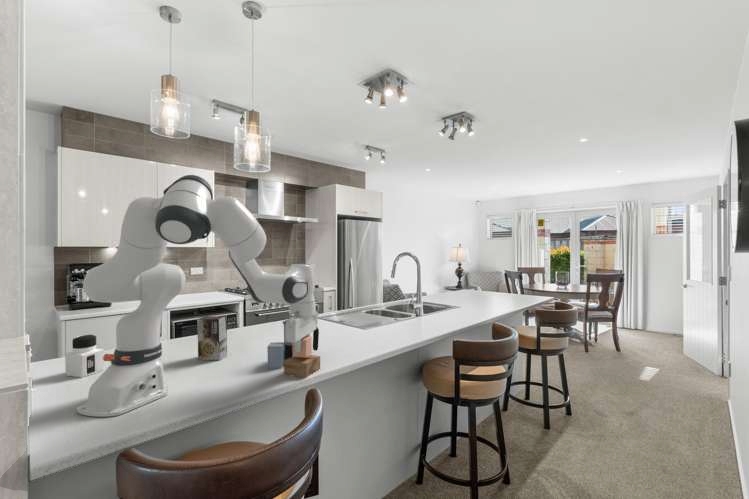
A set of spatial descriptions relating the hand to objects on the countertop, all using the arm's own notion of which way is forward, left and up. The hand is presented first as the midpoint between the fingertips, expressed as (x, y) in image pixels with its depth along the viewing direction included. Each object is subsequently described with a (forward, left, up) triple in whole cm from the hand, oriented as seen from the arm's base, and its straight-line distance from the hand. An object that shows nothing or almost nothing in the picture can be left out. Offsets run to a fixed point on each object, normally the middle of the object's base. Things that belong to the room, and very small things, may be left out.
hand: (302, 348), depth 129 cm
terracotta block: (0, 0, -2) cm, 2 cm away
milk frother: (+18, +9, -8) cm, 22 cm away
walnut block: (0, 0, -8) cm, 8 cm away
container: (-16, +74, -8) cm, 76 cm away
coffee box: (+8, +41, -8) cm, 43 cm away
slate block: (+4, +12, -8) cm, 15 cm away
